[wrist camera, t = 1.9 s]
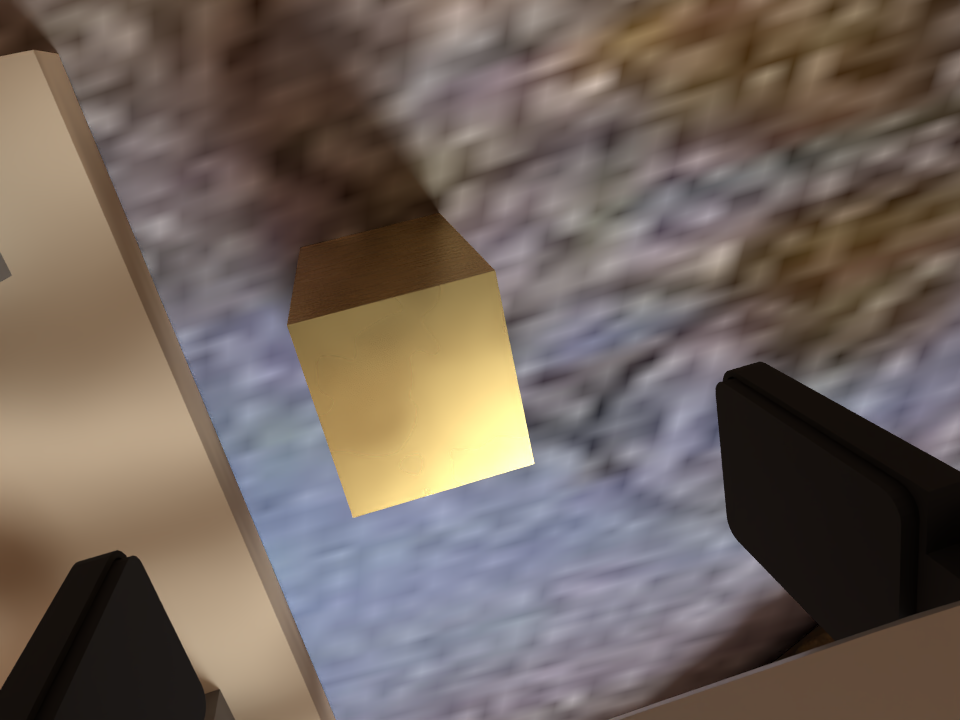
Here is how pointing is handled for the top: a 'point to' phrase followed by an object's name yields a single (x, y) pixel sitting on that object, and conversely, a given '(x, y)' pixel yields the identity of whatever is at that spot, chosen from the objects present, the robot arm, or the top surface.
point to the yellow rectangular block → (407, 362)
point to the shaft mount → (117, 423)
